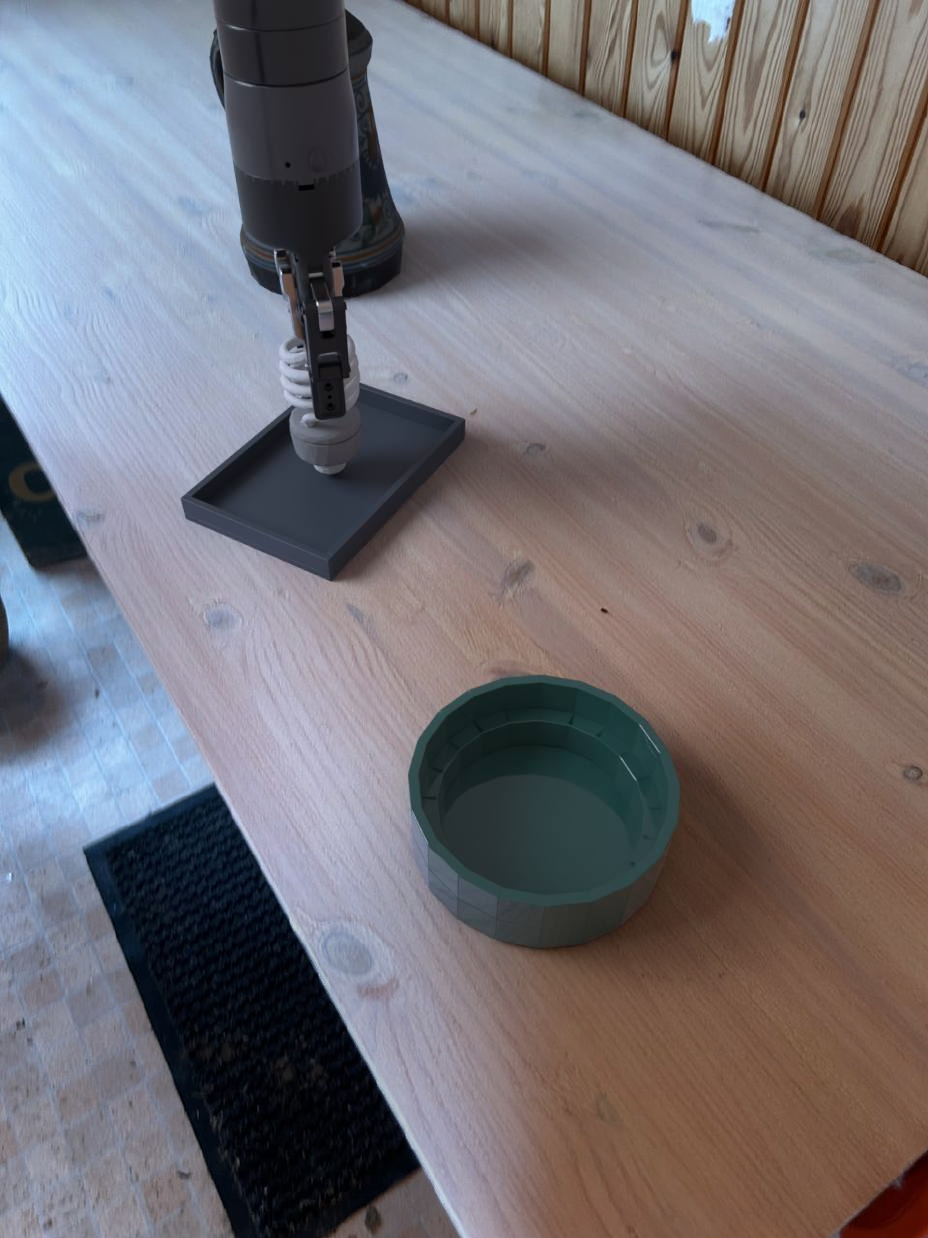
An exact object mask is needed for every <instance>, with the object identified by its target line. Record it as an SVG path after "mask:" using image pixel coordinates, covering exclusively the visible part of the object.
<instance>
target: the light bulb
mask: <svg viewBox="0 0 928 1238" xmlns="http://www.w3.org/2000/svg"><path fill="white" fill-rule="evenodd" d="M347 341H348V357H349V364H350V368H351V372H350V378H346V379H343V382H344V387H345V388H344V393H345V404H346V414H345V415H344V416H343V417H341V418H334V419H327V420H318V419H316V417H315V415H314V411H313V404H312V398H311V399H309V400H307V399H302V398H301V397H302V396H303V397H312V396H311V388H310V380H309V375H308V371H306V370H305V363H306V358H305V352H304V348H300V349H297V346H300V345H303V342H302V341H301V340H299V339H297V338H296V337H295V335H294V336H291V337H288V338H286V339H285V340H284V341H283V342H282V343H281V344H280V346H279V348H278V355H279V357H280V360H279V366H278V367H279V372H280V373H281V375H280V384H281V387H282V388H283V389H284V390H283V395H284V398H285V400H286V402H287V403H288V404H290V406H291V405H293V406H294V407H296V408H295V409H294V410H293V411H292V413H291V416H290V419H289V421H290V425H289V427H290V433H291V437H292V441H293V444H294V448H295V451H296V453H297V455H298V456H299V457H300V458H301V459H302V460H304V461H306V462H308V463H309V464H312V465H314V467H315V469H316V470H318V471H319V472H321V473H324V474H327V475H331V474H336V473H338V472H340V471H341V470H342V469H343V468H344V467H345V466H346V462H347V461H349V460H351V459H352V458H353V457H354V456H355V455H356V454H357V453H358V452H359V449H360V447H361V431H362V424H361V416H360V413H359V410H358V409H357V408H356V407H355V405H354V404H355V402H356V400H357V399H358V396H359V391H360V390H359V383H360V381H361V372H360V369H359V358H358V355H357V354H356V353H357V351H356V345H355V341H354V340H353V338H352V336H351V335H349V334H348V333H347ZM294 348H295V349H294ZM293 349H294V350H293ZM330 354H334V352H332V353H325V354H320V355H319V356H323V355H330Z"/></svg>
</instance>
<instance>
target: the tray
mask: <svg viewBox="0 0 928 1238" xmlns="http://www.w3.org/2000/svg"><path fill="white" fill-rule="evenodd" d="M344 388H345V387H344ZM359 390H360V391H359V396H358V399H357V400H356V402H355V404H354V405H355V407H356V408H357V409H358V410H359V413H360V416H361V424H362V431H361V447H360V449H359V452H358V453H357V454H356V455H355V456H354V457H353V458H352V459H351V460H349V461H347V462H346V466H345V467H344V468H343V469H342V470H341V471H340V472H338V473H336V474H331V475H327V474H324V473H321V472H319V471H318V470H316V469H315V467H314V465H312V464H309V463H308V462H306V461H304V460H302V459H301V458H300V457H299V456H298V455H297V453H296V451H295V448H294V444H293V441H292V437H291V433H290V427H289V425H290V421H289V419H290V416H291V413H292V411H293V410H294V409H295V408H296V407H294V406H293V405H291V404H290V406H289V407H287V408H286V409H285V410H284V411H283V412H281V414H279V415H278V416H277V417H276V418H274V419H273V420H272V421H271V422H270V423H268V424H267V425H266V426H265V427H264V428H262V429H261V430H260V431H259V432H257V434H255V435H254V436H253V437H251V438H250V439H249V440H248V441H246V442H245V444H243V445H242V446H241V447H239V449H237V450H236V451H235V452H234V453H233V454H231V455H230V456H229V457H228V458H227V459H225V460H224V461H223V462H222V463H220V464H219V465H217V467H215V468H214V469H213V470H212V471H211V472H210V473H208V474H207V475H206V476H205V477H204V478H203V479H201V480H200V481H199V482H198V483H196V484H195V485H194V486H193V487H192V488H190V489H189V490H188V491H187V492H186V493H184V494H183V495H182V496H181V497H180V503H181V507H182V509H183V513H184V518H185V519H186V520H189V521H190V522H193V523H196V524H198V525H199V526H202V527H204V528H207V529H209V530H211V531H214V532H216V533H218V534H220V535H223V536H225V537H228V538H230V539H232V540H234V541H236V542H239V543H240V544H244V545H246V546H249V547H251V548H253V549H256V550H258V551H260V552H262V553H264V554H267V555H270V556H272V557H274V558H276V559H279V560H280V561H283V562H285V563H288V564H290V565H293V566H295V567H297V568H300V569H301V570H304V571H306V572H309V573H311V574H313V575H316V576H317V577H321V578H323V579H325V580H327V581H330V582H331V581H333V579H335V577H336V576H337V575H338V574H339V573H340V572H341V571H342V570H343V569H344V568H345V567H346V566H347V565H348V564H349V563H350V562H351V561H352V559H353V558H355V556H356V555H357V554H358V553H359V552H360V551H361V550H362V549H363V548H364V547H365V546H366V544H368V542H370V541H371V539H372V538H373V537H374V536H375V535H376V534H377V533H378V532H379V531H380V530H381V529H382V528H383V527H384V526H385V525H386V523H388V522H389V520H390V519H392V517H394V515H395V514H396V513H397V512H398V511H399V510H400V509H401V508H402V507H403V505H404V504H405V503H406V502H407V501H409V500H410V498H411V497H413V495H414V494H415V493H416V492H417V490H419V489H420V488H421V486H423V484H424V483H426V481H427V480H429V478H430V477H431V476H432V475H433V474H434V473H435V472H436V471H437V470H438V468H440V466H442V465H443V464H444V462H446V460H447V459H448V458H449V457H450V456H451V455H452V454H453V453H454V451H455V450H456V449H458V447H459V446H461V444H462V443H463V442H464V441H465V440H466V418H463V417H461V416H457V415H455V414H453V413H452V414H451V413H449V412H446V411H443V410H440V409H437V408H434V407H431V406H429V405H426V404H423V403H421V402H417V401H415V400H411V399H409V398H405V397H402V396H400V395H397V394H394V393H391V392H388V391H385V390H383V389H380V388H376V387H374V386H370V385H368V384H365V383H362V382H359ZM300 398H302V399H307V400H309V399H311V398H312V397H303V396H300Z"/></svg>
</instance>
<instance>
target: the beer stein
mask: <svg viewBox="0 0 928 1238" xmlns="http://www.w3.org/2000/svg"><path fill="white" fill-rule="evenodd" d="M345 18H346V33H347V48H348V65H349V73H350V79H351V85H352V90H353V95H354V100H355V107H356V117H357V132H358V148H359V163H360V179H361V194H362V209H363V220H362V224H361V226H360V228H359V229H358V231H357V232H356V233H355V234H354V235H353V236H352V237H350V238H349V239H347V240H346V241H342V242H340V243H339V244H337V245H336V246H335V252H336V261H338V260H340V261H341V264H342V270H343V277H344V287H343V289H342V296H343V299H344V300H345V299H351V298H355V297H357V296H360V295H364V294H366V293H367V294H368V293H370V292H372V291H376V290H379V289H381V288H382V287H383V286H385V285H386V284H387V283H389V282H390V281H392V280H393V279H394V278H396V276H398V275H399V274H400V273H401V271H402V270H401V269H402V257H403V248H404V240H405V238H406V228H405V224H404V220H403V218H402V216H401V214H400V213H399V211H398V210H397V207H396V205H395V202H394V199H393V196H392V193H391V188H390V185H389V181H388V177H387V173H386V170H385V169H386V168H385V164H384V159H383V155H382V150H381V144H380V140H379V134H378V129H377V128H378V127H377V123H376V119H375V113H374V107H373V103H372V96H371V91H370V86H369V79H368V66H369V65H370V62H371V59H372V54H373V45H374V44H373V43H374V40H373V36H372V34H371V32H370V31H369V29H367V28H366V26H365V25H364V23H363V22H362V21H361V20H360V19H359V18H357V17H356V16H355V15H354V14H353V13H351V12H350V11H349V10H348V9H347V8H345ZM212 33H213V38H212V42H211V45H210V48H209V67H210V73H211V77H212V81H213V85H214V88H215V91H216V93H217V96H218V100H219V102H220V104H221V106H222V108H223V110H224V111H225V97H224V75H223V66H222V59H221V53H220V46H219V40H218V33H217V27H215V29H214V30H213V32H212ZM239 243H240V247H241V250H242V253H243V255H244V257H245V259H246V262H247V265H248V269H249V272H250V275H251V276H252V278H253V279H254V280H255V281H256V282H257V284H259V285H260V286H261V287H263V288H264V289H265V290H268V291H269V292H272V293H275V294H278V295H281V296H283V294H282V289H281V285H280V276H279V275H278V272H277V268H276V263H275V259H274V249H276V248H272V247H268V246H266V245H263V244H261V243H259V242H257V241H256V240H254V239H253V238H252V237H250V236H249V234H248V233H247V232H246V230H245V229H244V226H243V223H242V222H241V227H240V231H239ZM278 249H279V248H278Z"/></svg>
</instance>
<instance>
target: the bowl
mask: <svg viewBox="0 0 928 1238" xmlns="http://www.w3.org/2000/svg"><path fill="white" fill-rule="evenodd" d="M407 788H408V805H409V807H408V808H409V823H410V834H411V847H412V854H413V858H414V860H415V863H416V865H417V867H418V869H419V871H420V873H421V875H422V878H423V880H424V882H425V884H426V886H427V888H428V890H429V891H430V893H432V895H434V896H435V897H436V899H437V900H438V901H439V902H440V903H441V904H442V905H443V907H445V908H446V909H447V910H448V911H449V912H450V913H451V914H452V915H453V917H455V918H456V920H459V921H460V922H462V923H464V924H466V925H468V926H470V927H471V928H473V929H475V930H476V931H479V932H481V933H482V934H484V935H486V936H488V937H489V938H491V939H493V940H496V941H499V942H505V943H509V944H514V945H519V946H525V947H529V948H534V949H547V948H559V947H565V946H566V947H567V946H575V945H576V946H577V945H583V944H585V943H587V942H590V941H592V940H594V939H596V938H599V937H601V936H603V935H605V934H607V933H610V932H612V931H614V930H616V929H619V928H620V927H621V926H623V924H625V923H626V922H627V921H628V920H629V919H630V918H631V917H632V916H633V915H634V914H635V913H636V912H637V911H638V910H639V909H641V907H642V906H644V904H645V903H646V902H647V901H648V900H649V898H650V896H651V895H652V892H653V889H654V887H655V885H656V884H657V882H658V879H659V878H660V875H661V872H662V871H663V868H664V865H665V862H666V859H667V857H668V854H669V850H670V848H671V845H672V842H673V839H674V837H675V834H676V830H677V828H678V823H679V815H680V814H679V813H680V799H681V784H680V780H679V777H678V774H677V771H676V767H675V764H674V761H673V757H672V755H671V752H670V749H669V748H668V747H667V745H666V744H665V742H664V741H663V739H662V738H661V737H660V735H659V734H658V733H657V731H656V730H655V729H654V727H653V726H652V724H651V723H650V722H649V721H648V720H647V718H645V717H644V716H643V715H642V714H640V713H639V712H638V711H636V710H635V709H634V708H633V707H631V706H630V705H629V704H628V703H626V702H625V701H624V700H622V699H621V698H620V697H618V696H617V695H616V694H613V693H610V692H608V691H606V690H603V689H601V688H599V687H596V686H594V685H591V684H590V683H587V682H585V681H582V680H578V679H572V678H565V677H559V676H553V675H547V674H534V675H533V674H532V675H531V674H530V675H519V676H506V677H501V678H498V679H495V680H493V681H490V682H487V683H484V684H482V685H478V686H475V687H473V688H469V689H468V690H466V691H465V692H463V693H461V695H459V696H458V697H456V698H455V699H453V700H452V701H450V702H449V703H448V704H446V705H445V706H444V707H442V708H441V709H440V710H438V711H437V713H436V714H435V715H434V716H433V718H432V719H431V721H430V722H429V724H428V725H427V726H426V727H425V729H424V730H423V732H422V733H421V734H420V735H419V737H418V739H417V740H416V743H415V747H414V750H413V753H412V757H411V761H410V764H409V767H408V771H407Z"/></svg>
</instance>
